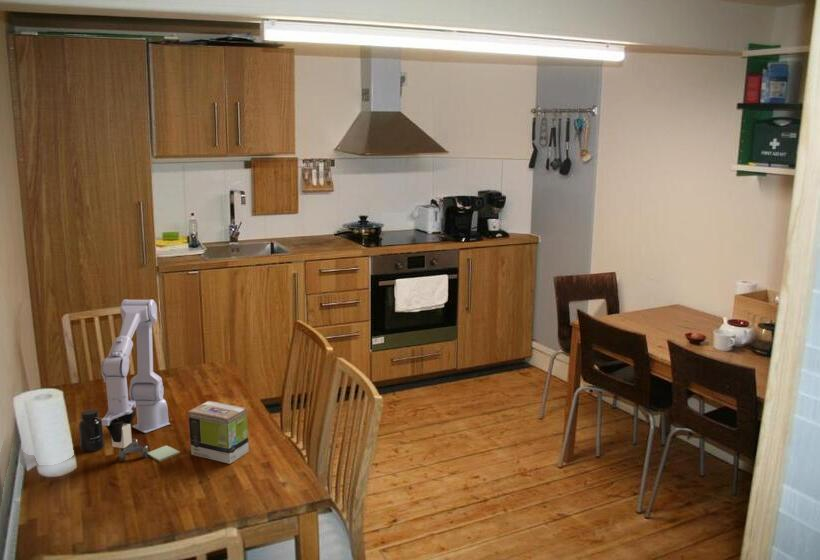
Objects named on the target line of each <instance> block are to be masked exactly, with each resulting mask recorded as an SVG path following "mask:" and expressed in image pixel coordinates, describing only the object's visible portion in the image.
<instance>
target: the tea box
mask: <svg viewBox="0 0 820 560" xmlns="http://www.w3.org/2000/svg"><path fill="white" fill-rule="evenodd" d="M247 409H248V408H247V407H243V406H238V405H233V404H229V403H224V402H219V401H212V400H207V401H206V402H204V403H201V404H200V405H198V406H195V407H194V408H191V409H190V410H188V425H189V427H188V428H189V440H190V441H189V442H190V453H191V455H192V456H194V457H195V456H196V457H198V458H199V457H200V458H204V459H208V460H212V461H217V462H220V463H223V464H229V465H231V464H233V462H235V461H237V460H239V459H240V458H241V457H243V456H245V455H246V454H247V453H249V450H250V449H249V446H250V445H249V430H248V411H247Z"/></svg>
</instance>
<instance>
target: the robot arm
mask: <svg viewBox="0 0 820 560" xmlns="http://www.w3.org/2000/svg"><path fill="white" fill-rule="evenodd" d="M157 306H158V305H157V302H156V301H155V300H154V299H127V298H126V299H123V300H122V302H121V303H120V306H119V307H120V309H119V310H120V311H119V312H120V316H121V318H122V321H121V327H120V331H119V335H118V337H114V339H113V341H112V344H111V347H110V350H109V352H108V355H107V357H105V358H104V359H102V361H101V364H100V365H101V367H100V368H101V369H100V372H101V373H100V374H101V376H102V377H103V382H104V383H105V385H106V386H105V387H106V396H107V397H106V398H107V407H108V410H107V412H106V413H105V415H104V417H103V418H101V420H102V425H103V426H105V428H106V429H107V431H109V434H110V436H112V437H111V440H112V439H113V441H114V442H121V430H122V425H123V423H126V424H130V425H131V428H134V429H135V430H137V431H139V432H141V433H144V434H147V433H150V432H153V431H156V430H159V429H161V428H163V427H166V426H169V425H171V422H169V420H170V419H169V410H168V404H167V401H166V399H165V398H164V394H165V393H164V391H165V389H164V385H163V379H162V377H161V376H160V375H159V374H157V373H156V372H154V356H153V355H154V352H153V348H154V347H153V324H156V323H157V322H158V321H157V320H158V307H157ZM135 332H136V360H137V361H136V364H137V370H136V371H137V374H136V375H134V376H133V377H131V378H130V382H129V388H128V380H127V376H128V374H129V369H130V357H131V352H132V349H133V347H134V342H133V340H132V338H133V336H134V334H135ZM129 399H130V400H129ZM133 409H135V410H136V411H135V410H133ZM135 416H136V420H137V423H136V424H134V425H132V424H133V420H134V418H135Z"/></svg>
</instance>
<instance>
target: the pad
mask: <svg viewBox="0 0 820 560" xmlns="http://www.w3.org/2000/svg"><path fill="white" fill-rule="evenodd" d="M180 452H181V451H179V450H177V449H175V448H173V447H172V446H170V445H169V446H168V445H163V446H161V447H158V448H155V449H153V450H150V451H148V454H149V457H150V458H152V459H154V460H156V461H158V462H162V461H165V460H167V459H169V458H173V457H174V456H178V455H179V453H180Z"/></svg>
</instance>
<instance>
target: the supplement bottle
mask: <svg viewBox="0 0 820 560" xmlns="http://www.w3.org/2000/svg"><path fill="white" fill-rule="evenodd" d="M80 414H81V415H80V418H81V419H80V421H79V422H78V433H79V434H78V435H79V445H80V446H79V447H80V450H81V451H83V452H85V451H86V453H88V452H89V453H90V452H91V453H93V452H96V451H99V450H101V449H103V447H104V445H105V442H104V440H105V439H104V429H103V425H102V418H100V417H99V410H98V409H94V408H93V409H92V408H90V409H84V410H82V411H81V413H80ZM92 451H93V452H92Z"/></svg>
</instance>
